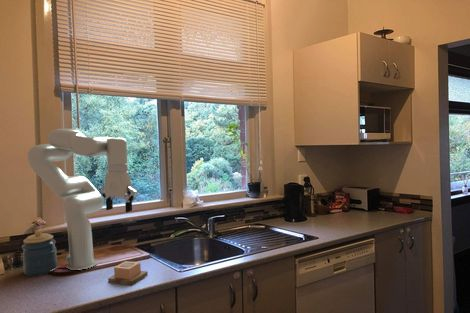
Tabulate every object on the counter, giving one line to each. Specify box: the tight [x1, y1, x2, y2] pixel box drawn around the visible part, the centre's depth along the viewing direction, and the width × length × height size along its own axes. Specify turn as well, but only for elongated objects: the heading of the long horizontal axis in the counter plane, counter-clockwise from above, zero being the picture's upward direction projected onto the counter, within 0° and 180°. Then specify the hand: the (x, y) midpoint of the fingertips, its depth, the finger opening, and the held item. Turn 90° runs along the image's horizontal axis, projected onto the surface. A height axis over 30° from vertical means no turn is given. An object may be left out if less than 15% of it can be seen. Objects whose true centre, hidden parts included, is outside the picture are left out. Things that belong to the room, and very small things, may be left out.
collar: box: [113, 260, 142, 279], centre depth 143 cm, size 7×7×4 cm
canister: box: [21, 230, 59, 277], centre depth 157 cm, size 13×13×18 cm
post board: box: [107, 263, 149, 286], centre depth 144 cm, size 11×10×6 cm
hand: (119, 210), depth 149 cm, fingers open, 9 cm apart
